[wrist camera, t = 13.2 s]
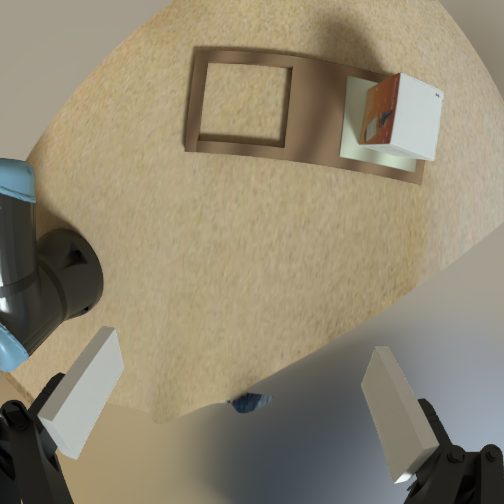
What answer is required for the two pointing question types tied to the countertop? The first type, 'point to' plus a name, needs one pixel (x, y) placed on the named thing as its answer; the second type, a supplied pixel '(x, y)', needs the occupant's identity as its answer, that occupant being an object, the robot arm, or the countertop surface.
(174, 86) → the countertop surface
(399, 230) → the countertop surface
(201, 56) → the board
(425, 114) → the small box
